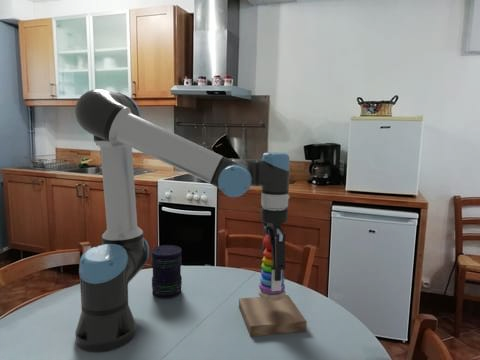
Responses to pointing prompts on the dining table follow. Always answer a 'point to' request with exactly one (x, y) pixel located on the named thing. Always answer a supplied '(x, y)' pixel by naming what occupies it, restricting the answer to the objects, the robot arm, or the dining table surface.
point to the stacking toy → (269, 275)
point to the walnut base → (271, 316)
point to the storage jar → (166, 271)
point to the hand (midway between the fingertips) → (272, 284)
